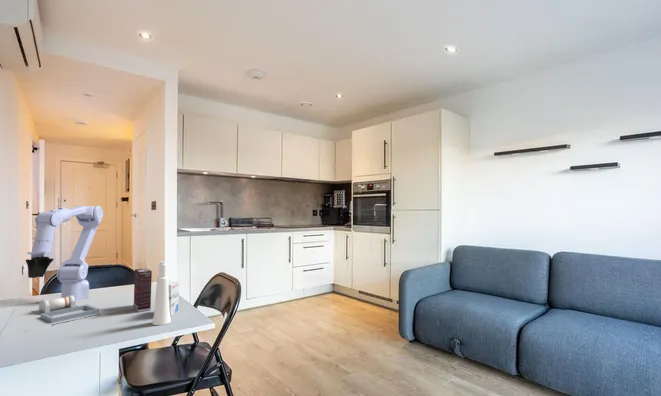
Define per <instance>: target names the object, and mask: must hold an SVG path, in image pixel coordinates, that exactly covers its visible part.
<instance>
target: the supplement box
mask: <svg viewBox="0 0 661 396" xmlns="http://www.w3.org/2000/svg"><path fill="white" fill-rule="evenodd" d="M152 274H153V272H152V270H150V269H148V268H145V267H144V268H136V269H134V283H133V284H134V286H133V287H134V288H133V309H134V310H136V312H138V313H140V312H141V313H142V312H143V313H144V312H146V311H147V312H148V311H151V310H152V309H151V307H152V306H151V305H152Z"/></svg>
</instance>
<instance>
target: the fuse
mask: <svg viewBox="0 0 661 396" xmlns="http://www.w3.org/2000/svg"><path fill="white" fill-rule="evenodd" d="M71 301H75V298H74V296H73V295H71V296H67V297H63V298H61V297H59V298H53V299H42V300H41V301H40V302H39V303H40V310H41V312H42V313H43V312H45V306H48V305H50V310H54V309H60V308H66V307H68V308H69V307H71Z"/></svg>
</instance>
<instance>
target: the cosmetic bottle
mask: <svg viewBox="0 0 661 396" xmlns="http://www.w3.org/2000/svg"><path fill="white" fill-rule="evenodd" d="M168 281H169V277H168V264H167V260H161V261H159V264H158V276H157V278H156V285H155V286H156V287H155V300H154V301H155V302H154V312H153V318H152V322H151V323H152V326H153V325H154V326H165V325H167V324H170V323H171V322H172V319H171V316H170V311H169V287H168Z"/></svg>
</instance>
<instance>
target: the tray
mask: <svg viewBox="0 0 661 396" xmlns="http://www.w3.org/2000/svg"><path fill="white" fill-rule="evenodd" d="M76 306H77V307H72V308H67V309H62V310H57V311H51V312H46V313H41V315H40V318H41V319H43V320H45V321H46V322H48V323H51V324H52V326H56V325H59V324H64V323H68V322H69V323H70V322H74V321H77V320H82V318H83V319H86V318H91V317H96V316H100V308H97V307H96V306H92V305H91V304H90V305H89V304H83V305H76ZM83 310H86V311H83ZM80 311H81V312H80ZM73 312H75V313H73ZM68 313H71V314H68ZM64 314H67V315H64ZM57 315H61V316H57ZM54 316H57V317H54ZM58 322H59V323H58Z"/></svg>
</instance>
